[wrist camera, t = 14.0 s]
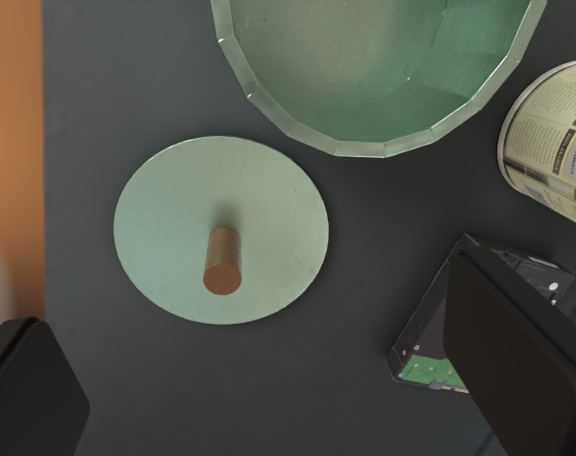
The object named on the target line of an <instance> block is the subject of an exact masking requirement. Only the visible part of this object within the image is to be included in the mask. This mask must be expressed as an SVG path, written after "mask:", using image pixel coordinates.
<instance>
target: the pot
mask: <svg viewBox="0 0 576 456" xmlns="http://www.w3.org/2000/svg"><path fill="white" fill-rule="evenodd" d="M210 4H211V10H212V16H213V21H214V27H215V33H216V39H217V40H218V44H219V46H220V48H221V50H222V52H223V54H224V56H225V58H226V60H227V61H228V63H229V65H230V67H231V69H232V71H233V73H234V75H235V77H236V79H237V81H238V83H239V84H240V86H241V88H242V90H243V92H244V94H245V96H246V97H247V99H248V100H249V101H250V102H251V103H252V104H253V105H255V106H256V107H257V108H258V109H259V110H260V111H261V112H262V113H263V114H264V115H265V116H266V117H267V118H268V119H269V120H271V121H272V122H273V123H274V124H275V125H276V126H277V127H278V128H279V129H280V130H281V131H282V132H283V133H284V134H285V135H287V136H288V137H290V138H293V139H295V140H297V141H300V142H302V143H305V144H307V145H309V146H312V147H314V148H316V149H319V150H321V151H324V152H326V153H328V154H331V155H333V156H348V157H377V158H384V157H385V158H386V157H389V156H393V155H396V154H399V153H402V152H405V151H409V150H412V149H415V148H418V147H421V146H424V145H428V144H431V143H434V142H435V141H437V140H438V139H440V138H441V137H443V136H444V135H446V134H447V133H448V132H450V131H451V130H453V129H454V128H456V127H457V126H459V125H460V124H461V123H463V122H464V121H466V120H467V119H469V118H470V117H471V116H473V115H474V114H476V113H477V112H479V111H480V110H481V109H482V108H483V107H484V106H485V104H486V103H487V102H488V101H489V99H490V98H491V97H492V96H493V95H494V93H495V92H496V91H497V90H498V89H499V87H500V86H501V85H502V84H503V82H504V81H505V80H506V79H507V78H508V76H509V75H510V74H511V73H512V71H513V70H514V69H515V68H516V67H517V65H518V64H519V62H520V61H521V59H522V57H523V54H524V52H525V50H526V48H527V46H528V44H529V41H530V39H531V37H532V35H533V33H534V30H535V28H536V26H537V24H538V22H539V20H540V17H541V15H542V13H543V11H544V9H545V7H546V4H547V0H210Z"/></svg>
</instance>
